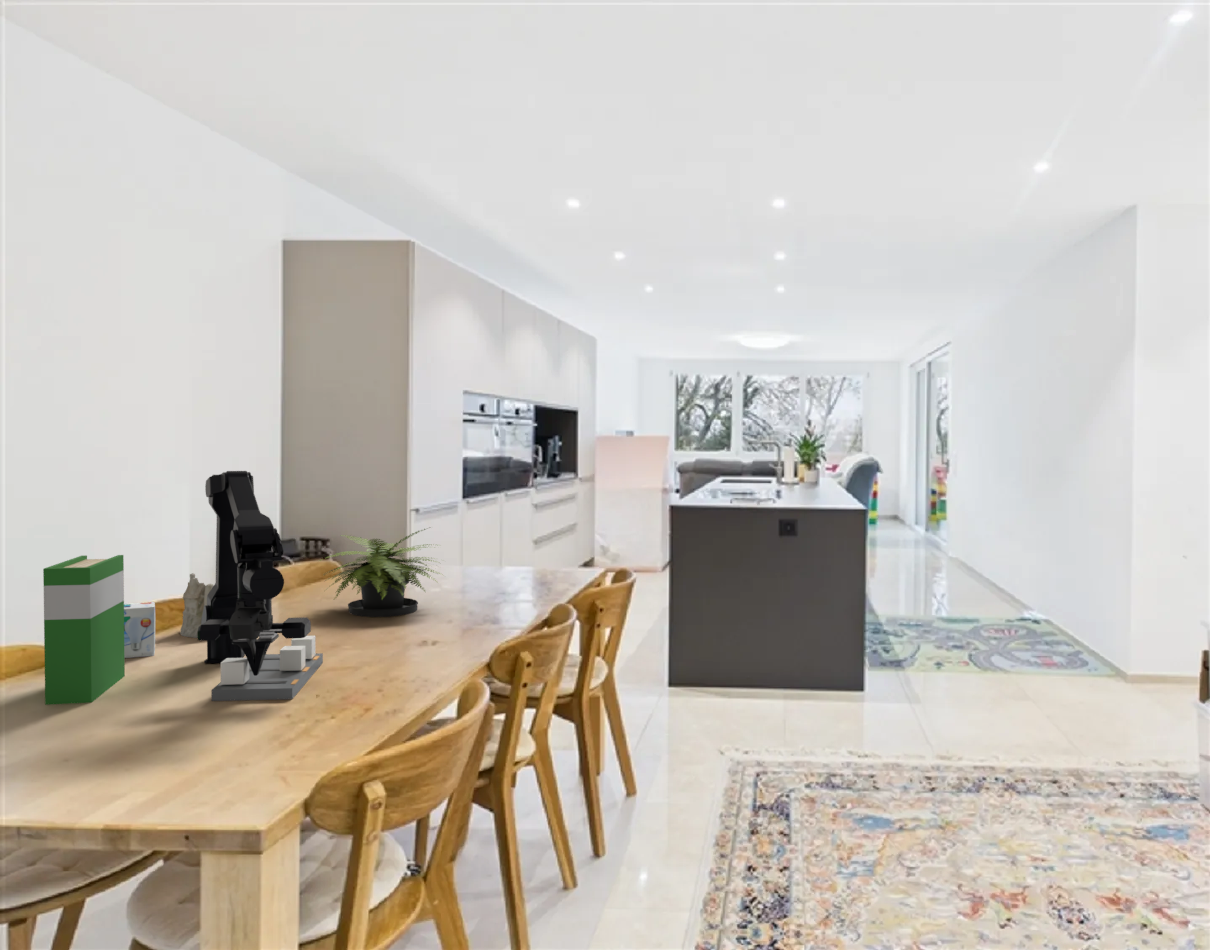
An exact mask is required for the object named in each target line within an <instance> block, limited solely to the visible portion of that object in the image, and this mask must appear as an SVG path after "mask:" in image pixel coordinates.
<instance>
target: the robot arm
mask: <svg viewBox="0 0 1210 950" xmlns="http://www.w3.org/2000/svg"><path fill="white" fill-rule="evenodd" d="M254 486H255V485H254V476H253V475H252V473H251V472H250V471H249V472H248V471H247V470H227V471H223V472H222V473H220V474H212V475H211V476H209V477H208V478H207V479H206V480H205V491H204V492H205V496H206V498H208V504H209V505H210V507H211V508H212V510H213V512H214V513H215V515H216V534H215V535H216V536H215V537H216V539H215V541H216V542H215V546H216V547H215V583H214V584H213V585H214V586H213V588H212V589H211V591H210V592H209V594H208V595H207V605H205V606H204V610H203V614H202V619H201V625H200V626H199V628H198V631H197V633H198V638H197V641H199V642H203V641H204V642H205V641H206V651H207V652H206V653H207V654H206V655H207V656H206V657H207V658H206V659H205V660H203V661H204V664H216V663H217V664H218V663H219V664H221V662H222V661H224V660H225V659H226V658H244V657H245V658H247V660H248V662H249V665H250V667H251V670H252V672H253V675H254V676H257V675H258V674H259V671H260V669H261V666H262V663H263V660H264V657H265V655H266V654H267V652H268V650H269V648H270V646H271V644H273V642H275V641H276V640H277V639H278V638H279V637H280V635H279V634H281V635H282V637H284V638H285V639H286V640H287V639H293V638H304V637H306V636H309V635H310V633H311V630H312V625H311V620H310V619H309V617H307V616H306V617H304V616H303V617H302V616H301V617H288V618H287V619H285V621H283V622H274V615H273V613H272V612H273V611H272V609H273V608H272V605H273V604H272V602H273V601H272V600H273V599H274V598H276V597H277V596H279V594H280V593H281V592H282V591H283V588H284V586H285V585H284V584H285V578H284V575H283V574H282V573H281V571H280V570H278V568H276V567H274V562H279V561H280V562H282V560H283V554H284V548H283V544H282V541H281V535H280V533H278V529H277V528H275V527H274V524H273V523H272V521H271V518H270V517H269V516H267V515H265V514H264V513H262V512H261V511H260V507H259V505H258V502H257V498H256V495H255V488H254Z"/></svg>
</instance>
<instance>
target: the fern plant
mask: <svg viewBox="0 0 1210 950" xmlns="http://www.w3.org/2000/svg"><path fill="white" fill-rule="evenodd" d="M430 528H431V529H432V526H431V527H430V526H429V527H428V529H430ZM425 530H427V528H424V529H421V530H417V531H415V532H414V533H413V532H412V533H410V534H409V535H406V536H405V537H403V538H402V539H400V540H399V541H398V542H395V543H391V542H390V543H388V542H386V541H385V540H382V539H380V538H370V539H369V538H362V537H361V536H355V535H353V536H351V535H342V534H341V535H340V537H345V538H347V539H348V540H350V541H354V543H356V544H359V545H360V546H361V547H363V546H365V548H367V549H366V551H362V550H359V551H356V550H354V551H350V550H349V551H348V550H347V551H341V552H339V551H338V552H335V554H334V552H333V553H331V555H329V556H326V559H329V558H334V557H339V556H340V555H341V557H342V556H346V555H348V556H349V555H357V554H358V555H359V554H360V555H363V556H361V558H356V561H349V562H348V563H345V564H341V566H338V567H336V568H333V569H330V572H332V574H333V573H335V572H338V571H339V569H341V568H347V567H350V569H348V570H343V571H341V572H338V573H337V574H335V575H334V576H330V577H328V578H327V579H326V580H325V581H328V580H333V579H334V578H336V579H335V580H334V582H332V584H331V585H330V586H328V587H327V588H326V589H325V591H327V590H328V589H329V588H330V587H331V586H333V585H334V584H336V583H338V582H340V581H341V580H342V581H341V583H339V584H340V585H338V588H337V590H335V597H334V599H337V598H338V597H339V595H340V593H341V592H343V591H344V589H346V588H348V586H350V584H352V588H351V590H354V589H356V590H357V593H356V595H358V594H359V593H361V599H357V600H352V601H350V602H349V603H348V604H347V605H348V606H347V607H348V613H349V614H350V615H353V616H358V617H367V618H368V617H369V618H387V617H388V618H389V617H398V616H399V617H400V616H404V615H409V614H412V613H414V612H416V611H417V610H418V604H419V602H418V601H417V600H416V599H413V598H410V597H409V598H407V597H405V592H406V591H405V589H406V588H407V585H408V584H409V583H410V584H411V585H412V586H413V585H415V586H414V587H417V588H419V589H420V590H422V591H423V592H424V593H426V591H427V590H426V589H425V587H423V585H422V584H421V582H420V581H421V580H420V579H419V577H417V574H418V575H422V576H423V577H426V578H428V579H431V580H433V581H435V582H436V583H437V584H439V583H438V580H437V579H436V578H434V577H433V576H432V575H430V574H429V572H431V573H434V574H437V575H442V576H444V577H445V575H443V574H442V573H441V572H440V571H439V572H438V571H436V570H434V569H430V567H432V568H433V566H432V565H431V564H428V563H427V561H428V562H433V559H434V563H438V564H440V562H439V561H437V558H434V557H430V558H428V557H427V556H422V557H419V556H412V557H408V558H405V557H406V556H405V554H406V553H410V552H413V551H416V552H417V551H421V549H422V548H427V546H430V548H436V546H442V545H441V544H435V543H433V544H426V543H425V544H419V545H413V546H411V547H410V546H409V547H406V548H405V547H401V548H400V547H398V546H399V544H401V543H403V542H404V541H406V540H408V539H409V538H411V537H413V536H414V535H416V534H419V533H420V532H423V531H425ZM433 546H435V547H433ZM397 547H398V549H396V548H397ZM416 547H418V548H416ZM324 555H325V554H324ZM324 555H322V556H324ZM396 557H399V558H396ZM321 561H322V559H320V560H318V562H321ZM362 561H365V562H362ZM442 561H444V562H445V560H444V559H442ZM415 564H420V565H415ZM424 566H428V567H424ZM437 567H438V568H440V566H438V565H437ZM327 574H329V571H326V572H324V575H327ZM325 581H324V582H325ZM349 583H350V584H349Z"/></svg>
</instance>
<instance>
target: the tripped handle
mask: <svg viewBox="0 0 1210 950" xmlns="http://www.w3.org/2000/svg"><path fill="white" fill-rule="evenodd" d="M248 680H249V662H248V660H247V657H242V658H226V659H225V660H224V661H222V662H221V663H220V682H221V685H227V684H244V683H245V682H247V681H248Z"/></svg>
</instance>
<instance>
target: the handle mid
mask: <svg viewBox="0 0 1210 950" xmlns="http://www.w3.org/2000/svg"><path fill="white" fill-rule="evenodd" d="M279 654H280V671H297V670H302V669H303V668H304V667H305V646H291V645H284V646H283V647H282V648H280V650H279Z"/></svg>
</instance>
